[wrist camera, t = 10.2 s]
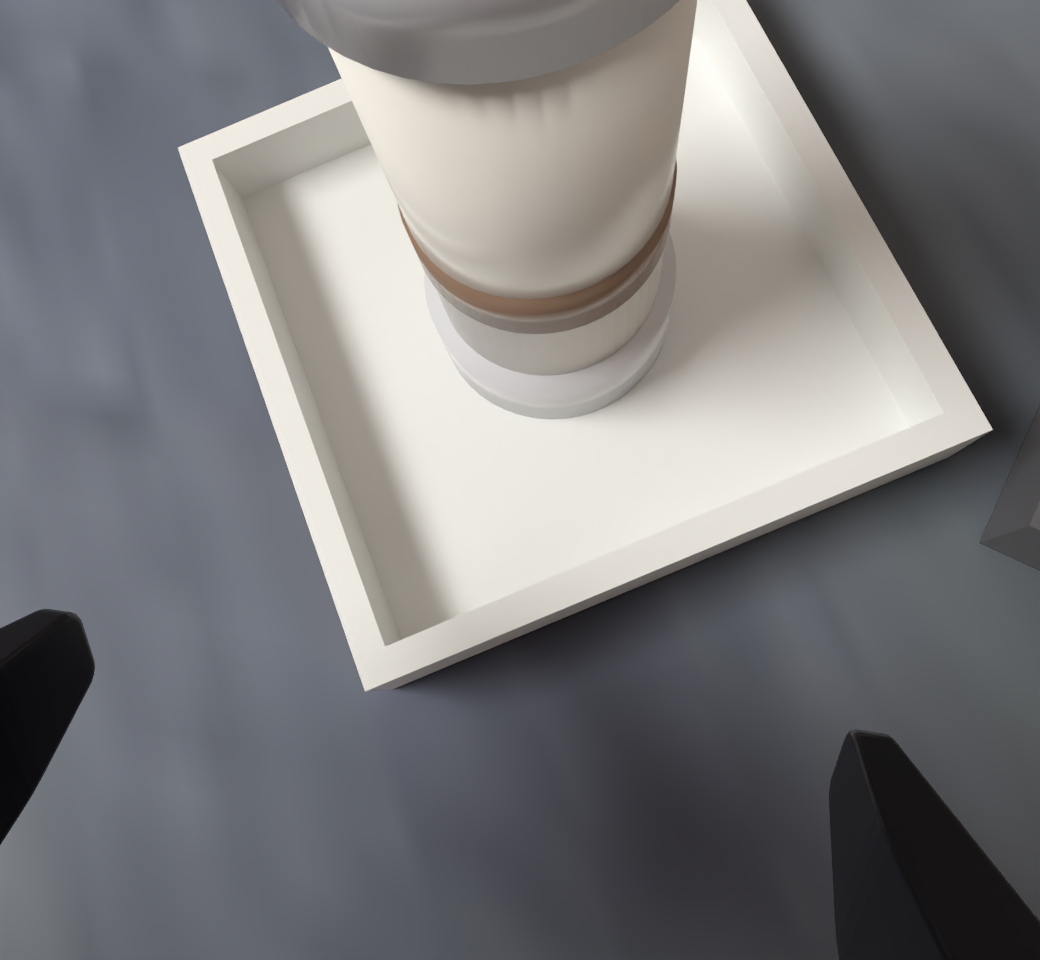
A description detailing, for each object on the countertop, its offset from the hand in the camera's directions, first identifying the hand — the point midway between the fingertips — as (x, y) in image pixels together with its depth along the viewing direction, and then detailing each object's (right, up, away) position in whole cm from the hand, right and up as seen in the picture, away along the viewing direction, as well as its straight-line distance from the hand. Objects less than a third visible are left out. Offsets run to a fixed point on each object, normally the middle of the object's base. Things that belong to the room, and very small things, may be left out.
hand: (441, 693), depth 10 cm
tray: (+2, +6, +9) cm, 11 cm away
